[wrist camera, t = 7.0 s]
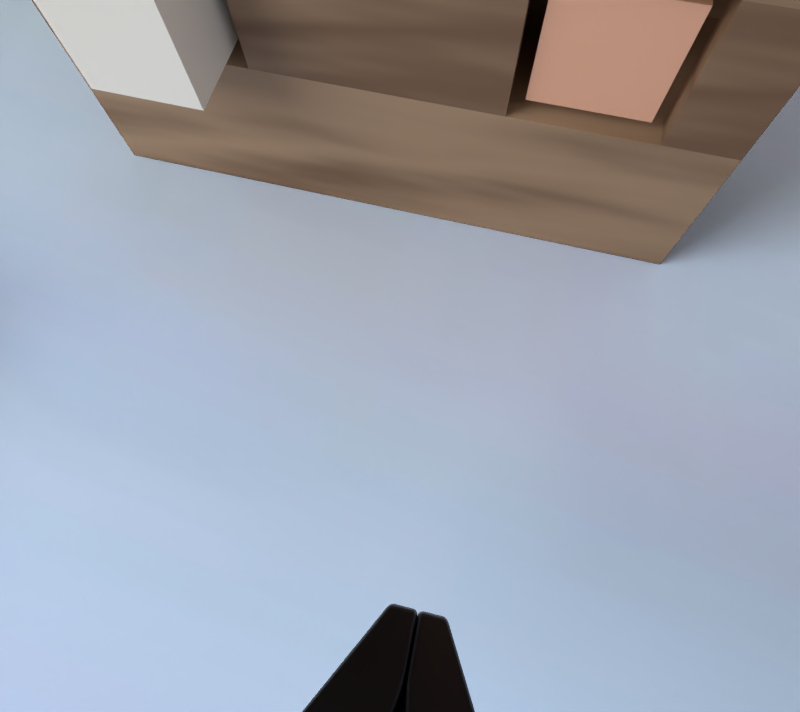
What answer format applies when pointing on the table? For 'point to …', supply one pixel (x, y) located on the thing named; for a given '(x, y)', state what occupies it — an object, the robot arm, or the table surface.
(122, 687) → the table surface
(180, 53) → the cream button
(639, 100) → the salmon pink cube
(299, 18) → the wooden stand
